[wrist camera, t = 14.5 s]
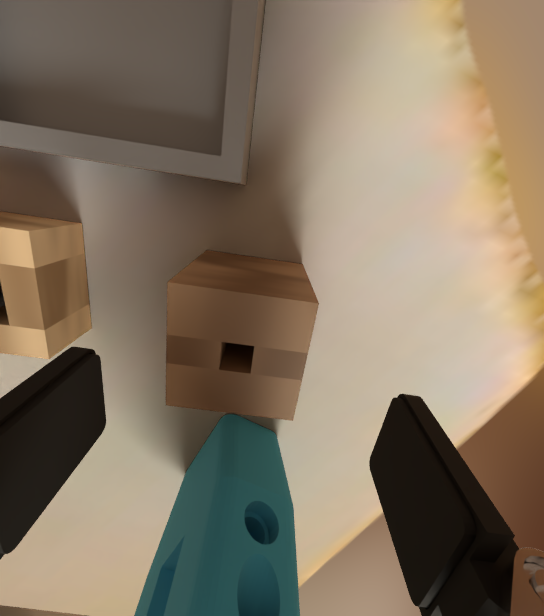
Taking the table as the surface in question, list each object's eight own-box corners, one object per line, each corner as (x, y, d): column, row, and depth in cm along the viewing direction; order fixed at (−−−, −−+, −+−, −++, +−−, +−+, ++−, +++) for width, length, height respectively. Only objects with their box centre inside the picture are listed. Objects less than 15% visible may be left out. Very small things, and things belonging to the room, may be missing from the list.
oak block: (-14, 314, 19) (-83, 342, 16) (-40, 205, 17) (-130, 208, 13) (91, 328, 20) (49, 359, 16) (81, 223, 17) (28, 231, 13)
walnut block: (201, 336, 20) (165, 405, 13) (206, 250, 18) (167, 282, 11) (286, 347, 20) (292, 420, 14) (302, 264, 18) (318, 303, 11)
